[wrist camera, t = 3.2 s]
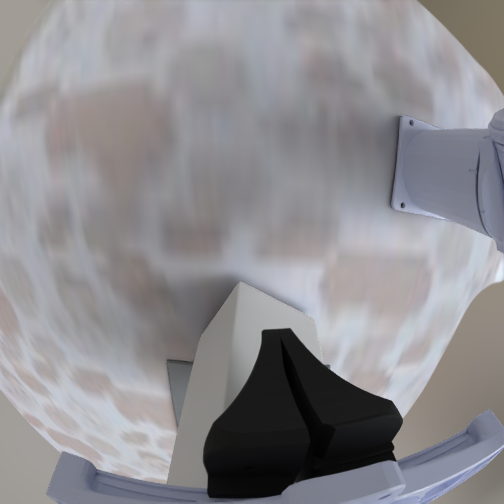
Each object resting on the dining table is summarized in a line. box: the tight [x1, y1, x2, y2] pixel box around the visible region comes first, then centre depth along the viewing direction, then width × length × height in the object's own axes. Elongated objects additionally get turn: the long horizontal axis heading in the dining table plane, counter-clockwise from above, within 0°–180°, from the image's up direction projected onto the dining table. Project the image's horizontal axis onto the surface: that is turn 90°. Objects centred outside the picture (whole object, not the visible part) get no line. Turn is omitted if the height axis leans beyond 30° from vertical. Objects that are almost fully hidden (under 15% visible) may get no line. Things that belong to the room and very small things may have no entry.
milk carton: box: [167, 281, 324, 488], centre depth 14 cm, size 7×7×19 cm
